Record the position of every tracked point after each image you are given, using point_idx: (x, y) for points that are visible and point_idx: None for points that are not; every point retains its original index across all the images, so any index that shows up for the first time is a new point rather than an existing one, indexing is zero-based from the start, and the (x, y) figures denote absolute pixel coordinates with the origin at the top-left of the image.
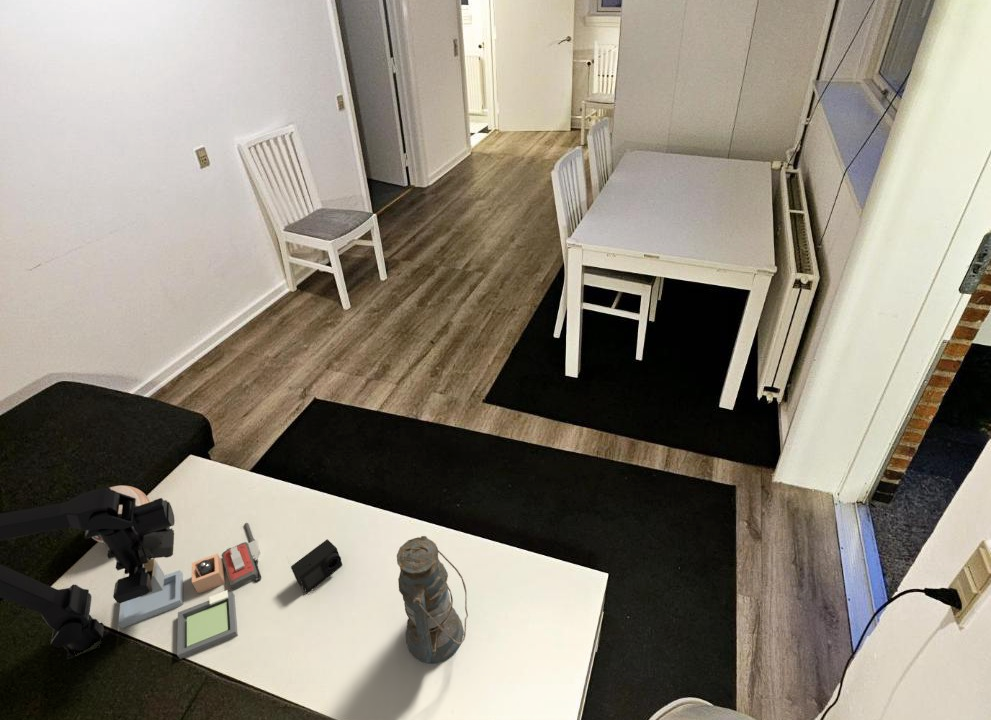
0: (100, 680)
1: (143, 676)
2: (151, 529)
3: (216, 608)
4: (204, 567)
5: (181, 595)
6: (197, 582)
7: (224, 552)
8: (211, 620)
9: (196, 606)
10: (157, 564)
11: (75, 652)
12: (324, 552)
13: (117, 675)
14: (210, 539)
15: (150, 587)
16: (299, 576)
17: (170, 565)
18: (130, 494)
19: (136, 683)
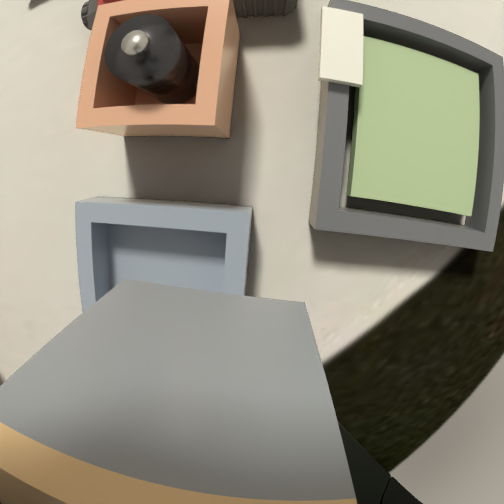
0: (371, 436)
1: (444, 347)
2: None
3: (373, 74)
4: (160, 38)
5: (209, 206)
6: (219, 102)
7: (92, 16)
8: (419, 107)
9: (331, 143)
10: (44, 366)
11: None
12: None
13: (390, 406)
14: (6, 105)
15: (351, 437)
16: None
17: (39, 243)
18: None
19: (448, 362)
